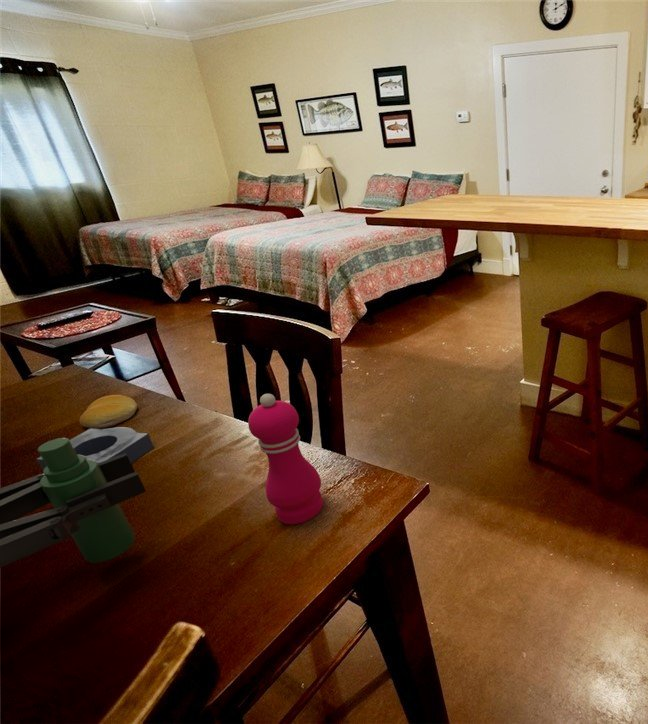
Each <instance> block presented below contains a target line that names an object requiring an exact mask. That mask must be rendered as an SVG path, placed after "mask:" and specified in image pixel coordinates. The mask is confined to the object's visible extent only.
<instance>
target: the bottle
mask: <svg viewBox="0 0 648 724" xmlns="http://www.w3.org/2000/svg"><path fill="white" fill-rule="evenodd" d="M69 440H70V439H69V438H66V437H60V438H55V439H52V440H48V441H47V442H44V443H43V444H41V445H39V446H38V448H37V452H38V454H39V455H40V457H42V459H43V460H44V462H45V464H46V465H47V466H46V467H45V469H44V470H43V469H42V474H43V473H44V476H43V477H42V479H41V480H40V485H41V487H42V488H43V490H44V492H45V493H46V495H47V497H48V498H49V500H50V503H51V506H52V507H53V509H54V508H57V507H61V506H67V507H69V506H68V505H67V503H66V500H67V499H69V498H72V497H74V496H77V495H79V494H82V493H84V492H87V491H89V490H92V489H95V488H97V487H100V486H102V485H105V484H107V481H106V479H105V477H104V475H103V473H102V471H101V469H100V467H99V465H98V464H97V462H96V461H94V460H90V459H86V458H85V457H84V456H83V455H77V454H76V452H75V450H74V448H73V446H72V445H71V443H70V441H69ZM76 523H77V524H78V526H79V530H78V531H76V532H75V533H72V534H71V536H70V537H71V538H72V540H73V542H74V543H75V545H76V546H77V548H78V550H79V551H80V553H81V555H82V556H83V558H84V559H85V561H86V562H89V563H93V564H95V563H102V562H105V561H109V560H111V559H114V558H116V557H118V556H120V555H121V554H124V552H126V551H127V550H128V549H130V548H131V546H133V544H134V543H135V540H136V534H135V533H134V530H133V529H132V527H131V524H130V523H129V521H128V519H127V517H126V515H125V512H124V511H123V510H122V507H121V506H120V503H118V504H116V505H114V506H111V507H109V508H107V509H105V510H102V511H99V512H98V513H95V514H93V515H90V516H88V517H86V518H83V519H81V520H79V521H77V522H76Z"/></svg>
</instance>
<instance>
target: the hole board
mask: <svg viewBox="0 0 648 724" xmlns="http://www.w3.org/2000/svg"><path fill="white" fill-rule="evenodd" d="M69 441H70V443H71V445H72V446H73V448H74V450H75V452H76V454H77V455H83V456H84V457H85V458H86V459H90V460H94V461H96V462H97V463H100V462H103V461H106V460H108V459H111V458H114V457H116V456H119V455H122V454H124V453H126V454H127V456H128V458H129V460H130V462H131V464H132V463H134V462H135V461H136V460H138V459H139V458H141V457H142V456H143V455H145V454H146V453H148V452H149V451H151V450H152V449H154V448H155V445H154V444H153V441H152V439H151V437H150V435H149V433H145V432H137V430H135V429H133V428H132V427H125V426H118V427H117V426H116V427H107V428H102V429H101V428H99V429H95V428H88V429H87V430H85V431H84V432H82V433H80V434H78V435H76V436H74V437H73V438H71V439H69ZM36 461H37V463H38V464H39V466H40V468H41V470H42V471H43V470H44V469H45V467H46V466H47V465H46V464H45V462H44V460H43V459H42V457H41V456H39V457H37V458H36Z"/></svg>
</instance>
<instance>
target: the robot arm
mask: <svg viewBox="0 0 648 724" xmlns="http://www.w3.org/2000/svg"><path fill="white" fill-rule="evenodd" d="M97 464H98V465H99V467H100V469H101V471H102V473H103V475H104V477H105V479H106V481H107V484H105V485H102V486H100V487H97V488H95V489H92V490H89V491H87V492H84V493H82V494H79V495H77V496H74V497H72V498H69V499H67V500H66V503H67V505H68V506H69V507H67V506H61V507H57V508H54V507H53V508H50V509H48V510H44V511H42V512H38V513H34V514H31V515H29V514H30V513H32V512H34V511H37V510H38V509H40V508H42V507H44V506H46V505H48V504H50V503H51V502H50V500H49V498H48V497H47V495H46V493H45V492H44V490H43V488H42V487H41V485H40V480H41V479H42V477H43V476H44V473H43V472H42V473H40V474H37V475H34V476H32V477H28V478H25V479H23V480H20V481H17V482H15V483H13V484H10V485H7V486H3V487H1V488H0V569H1V568H3V567H6V566H8V565H10V564H13V563H15V562H17V561H19V560H22V559H24V558H26V557H29V556H31V555H33V554H36V553H38V552H40V551H43V550H45V549H47V548H49V547H51V546H55V545H57V544H59V543H60V542H63V541H66V540H68V539H69V538H70V537H72V536H71V534H72V533H75V532H76V531H78V530H79V526H78V524H77V523H76V522H77V521H79V520H81V519H83V518H86V517H88V516H90V515H93V514H95V513H98V512H99V511H102V510H105V509H107V508H109V507H111V506H114V505H116V504H120V503H123V502H126V501H128V500H130V499H132V498H135V497H137V496H140V495H141V494H144V493H146V492H147V490H146V487H145V486H144V483H143V482H142V480H141V478H140V475H139V473H138V472H137V471H136V470H135V468H134V466H133V464H132V463H131V462H130V460H129V458H128V456H127V454H126V453H124V454H122V455H119V456H116V457H114V458H111V459H108V460H106V461H103V462H100V463H97ZM26 515H28V516H26Z"/></svg>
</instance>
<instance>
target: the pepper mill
mask: <svg viewBox="0 0 648 724" xmlns="http://www.w3.org/2000/svg"><path fill="white" fill-rule="evenodd" d="M259 403H260V404H259V405H258V406H256V407H255V408H254V409H253V410H252V411H251V412H250V414H249V417H248V421H247V424H248V425H247V426H248V430H249V432H250V434H251V435H252V436H253V437H254V438H256V439H258V440H257V444H258V445H259V449H260V451H261V452H263V453H265V454H266V456H267V461H268V471H267V474H266V480H265V495H266V499H267V501H268V503H269V504H270V505H272V506H273V507H274V510H275V514H276V516H277V519H278V520H279V521H280V522H281V524H285V525H298V524H302V523H305V522H307V521H309V520H311V519H312V518H314V517H315V516H317V515H318V514H319V512H320V511H321V510H322V509H323V506H324V500H323V497H322V493H321V491H320V490H321V487H322V478H321V476H320V474H319V472H318V470H317V469H316V467H315V466H313V465H312V464H311V463H310V462H309V461H308V460H307V459H306V458H305V457H304V456H303V454H302V451H301V449H300V446H299V442H300V441H301V436H300V434H299V433H300V432H299V429H298V428H297V427H298V426H299V422H300V418H299V417H300V416H299V413H298V411H297V410H296V408H295V406H293V405H292V404H291V403H289V402H287V401H284V400H276V397H275V396H274V394H272V393H264V394H263V395H262V396H260V399H259Z"/></svg>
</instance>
